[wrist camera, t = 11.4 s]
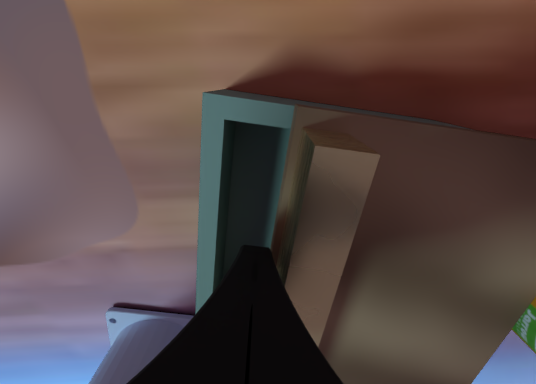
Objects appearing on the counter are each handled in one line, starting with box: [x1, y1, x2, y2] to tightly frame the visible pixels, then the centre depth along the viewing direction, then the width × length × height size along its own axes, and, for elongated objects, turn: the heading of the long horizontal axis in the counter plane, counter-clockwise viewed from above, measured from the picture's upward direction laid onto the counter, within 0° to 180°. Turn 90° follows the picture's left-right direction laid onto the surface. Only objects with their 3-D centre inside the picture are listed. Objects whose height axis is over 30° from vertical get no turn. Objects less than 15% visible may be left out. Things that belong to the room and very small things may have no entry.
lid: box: [270, 104, 536, 384], centre depth 10 cm, size 13×11×4 cm
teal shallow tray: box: [195, 89, 473, 314], centre depth 14 cm, size 13×11×4 cm
